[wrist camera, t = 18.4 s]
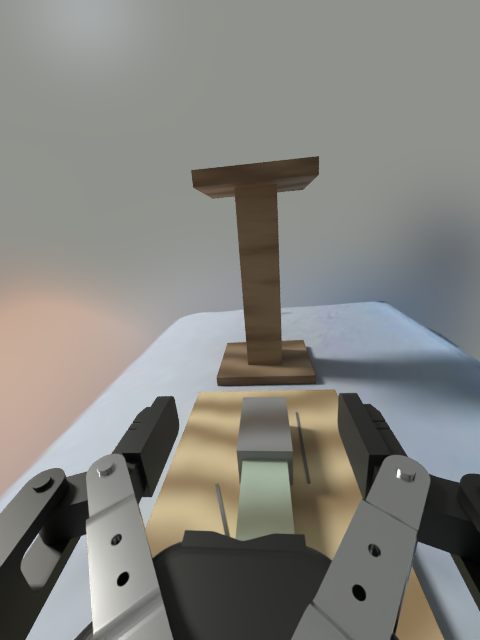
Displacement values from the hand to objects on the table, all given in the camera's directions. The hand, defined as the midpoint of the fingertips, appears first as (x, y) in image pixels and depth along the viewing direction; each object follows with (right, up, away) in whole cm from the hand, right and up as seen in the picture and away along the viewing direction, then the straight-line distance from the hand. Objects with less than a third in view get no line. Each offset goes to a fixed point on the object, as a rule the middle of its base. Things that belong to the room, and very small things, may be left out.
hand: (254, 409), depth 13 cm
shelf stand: (+4, -4, +37) cm, 38 cm away
